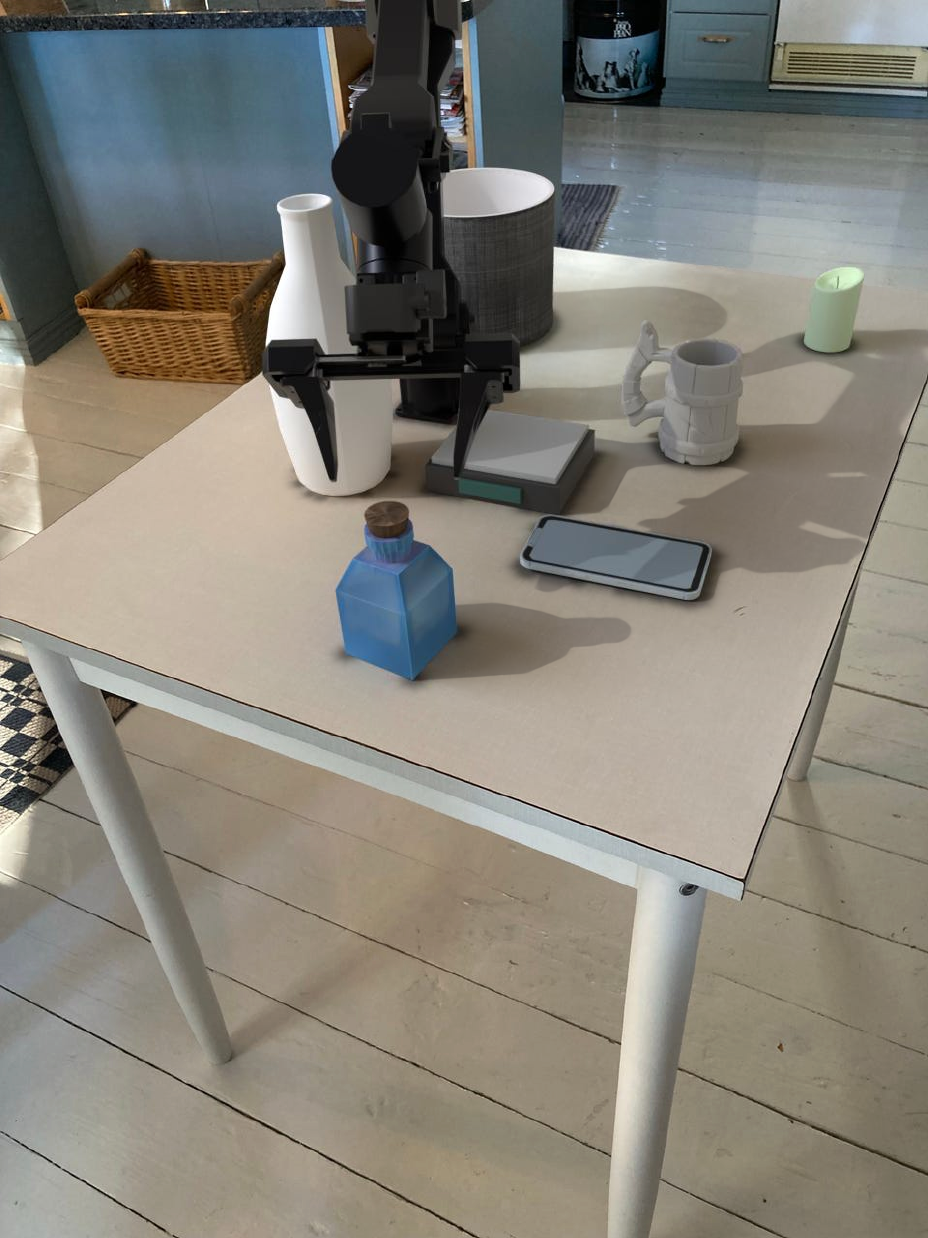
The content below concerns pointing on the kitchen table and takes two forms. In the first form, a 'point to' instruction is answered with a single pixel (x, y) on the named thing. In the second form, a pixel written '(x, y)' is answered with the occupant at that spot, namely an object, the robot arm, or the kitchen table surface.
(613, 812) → the kitchen table surface
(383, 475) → the bottle
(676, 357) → the mug
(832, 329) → the candle
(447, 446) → the scale
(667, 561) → the smartphone
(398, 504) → the perfume bottle
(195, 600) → the kitchen table surface
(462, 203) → the planter
